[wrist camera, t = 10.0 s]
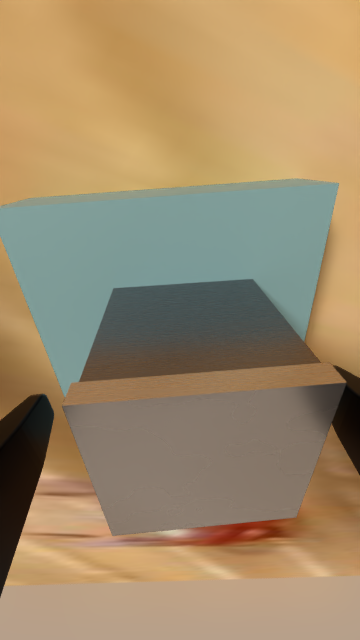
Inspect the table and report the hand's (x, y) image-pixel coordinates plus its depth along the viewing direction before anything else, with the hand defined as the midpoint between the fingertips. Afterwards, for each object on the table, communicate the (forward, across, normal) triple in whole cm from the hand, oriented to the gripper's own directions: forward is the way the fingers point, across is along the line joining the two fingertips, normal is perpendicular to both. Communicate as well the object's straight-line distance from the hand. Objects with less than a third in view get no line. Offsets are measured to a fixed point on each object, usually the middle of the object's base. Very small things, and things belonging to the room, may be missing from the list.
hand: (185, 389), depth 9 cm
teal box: (+6, 0, 0) cm, 6 cm away
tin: (+3, 0, 0) cm, 3 cm away
